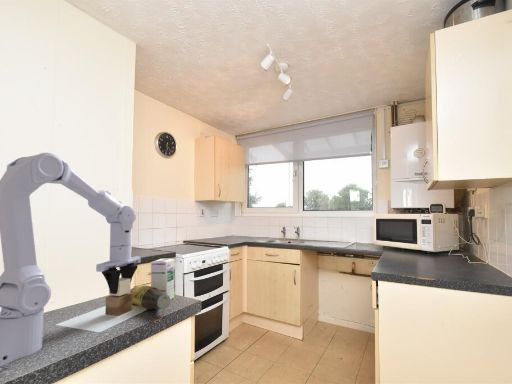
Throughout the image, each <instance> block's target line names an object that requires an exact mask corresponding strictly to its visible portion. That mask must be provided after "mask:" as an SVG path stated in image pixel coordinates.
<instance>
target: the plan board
mask: <svg viewBox="0 0 512 384" xmlns="http://www.w3.org/2000/svg"><path fill="white" fill-rule="evenodd" d="M148 310H149V309H148V308H144V307H141V306H139V305H133V304H132V310H131V311H129V312H127V313H125V314H122V315H120V316H113V315H105V311H106V305H104V306H101V307H98V308H96V309H94V310H91V311H89V312H86V313H82V314H79V315H78V316H75V317H72V318H70V319H68V320H64V321H62V322H59V323H57V324H55V326H58V327H65V328H70V329H78V330H83V331H88V332H94V333H102V332H104V331H106V330H109V329H111V328H112V327H114V326H116V325H118V324H120V323H123V322H124V321H127V320H129V319H131V318H133V317H135V316H137V315H139V314H141V313H143V312H145V311H148Z"/></svg>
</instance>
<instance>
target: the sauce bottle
mask: <svg viewBox="0 0 512 384" xmlns="http://www.w3.org/2000/svg"><path fill="white" fill-rule="evenodd" d="M129 293H132V305H133V304H134V305H135V306H141V307H144V308H148V310H155V309H159V310H165V309H167V308H168V307H169V305H170V303H171V302H170V297H169V296H168V295H167V294H163V292H162V291H160V290H159V289H157V288H155V287H151V285H150V286H149V285H145V284H138V285H135V286H134V287H133V288H132V289H130V292H129Z"/></svg>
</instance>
